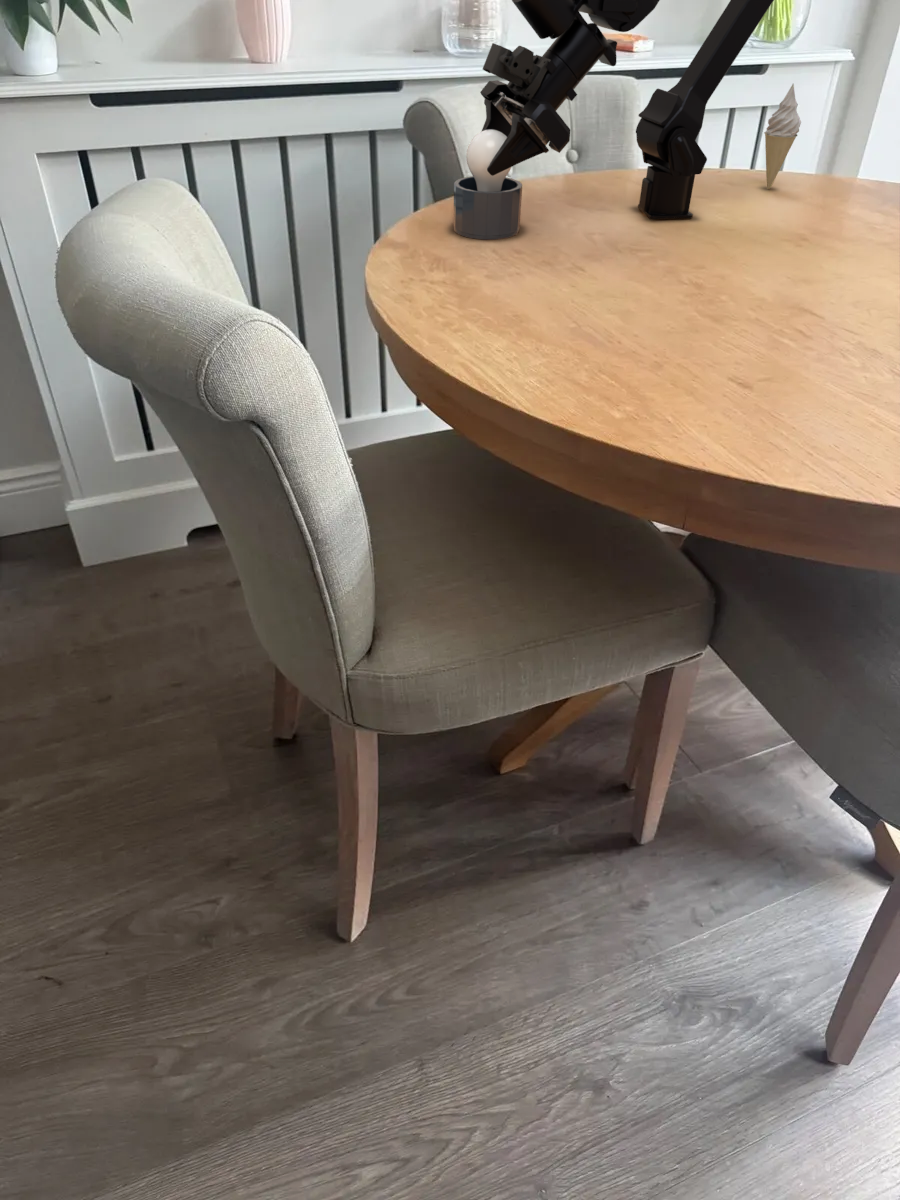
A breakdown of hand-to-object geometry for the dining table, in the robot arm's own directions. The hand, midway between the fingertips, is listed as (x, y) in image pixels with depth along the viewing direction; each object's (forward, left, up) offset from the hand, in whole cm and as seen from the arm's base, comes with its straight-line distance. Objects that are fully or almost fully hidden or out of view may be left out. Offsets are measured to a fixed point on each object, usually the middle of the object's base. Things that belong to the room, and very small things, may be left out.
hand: (480, 167), depth 117 cm
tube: (-1, 0, -8) cm, 8 cm away
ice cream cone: (-51, -17, -8) cm, 55 cm away
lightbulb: (-1, 0, -7) cm, 7 cm away
